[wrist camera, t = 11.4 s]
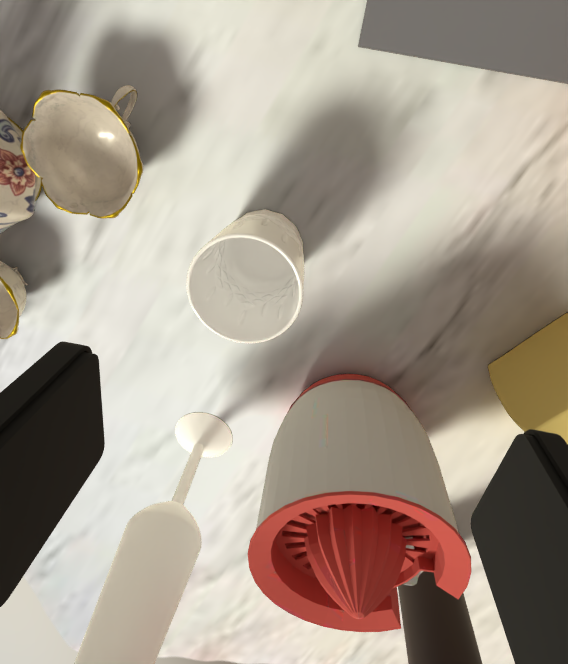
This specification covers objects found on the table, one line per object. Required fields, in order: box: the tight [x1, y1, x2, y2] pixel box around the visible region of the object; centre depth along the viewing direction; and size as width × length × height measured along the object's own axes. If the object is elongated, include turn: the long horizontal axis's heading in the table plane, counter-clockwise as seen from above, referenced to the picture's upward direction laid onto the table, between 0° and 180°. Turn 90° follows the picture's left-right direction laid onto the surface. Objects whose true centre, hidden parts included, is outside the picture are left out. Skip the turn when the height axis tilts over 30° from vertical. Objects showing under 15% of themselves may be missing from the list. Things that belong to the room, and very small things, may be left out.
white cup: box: [187, 209, 304, 343], centre depth 33 cm, size 8×8×10 cm
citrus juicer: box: [248, 374, 471, 632], centre depth 36 cm, size 16×17×20 cm
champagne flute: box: [74, 412, 232, 664], centre depth 37 cm, size 7×7×24 cm
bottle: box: [398, 571, 482, 664], centre depth 44 cm, size 7×7×20 cm
